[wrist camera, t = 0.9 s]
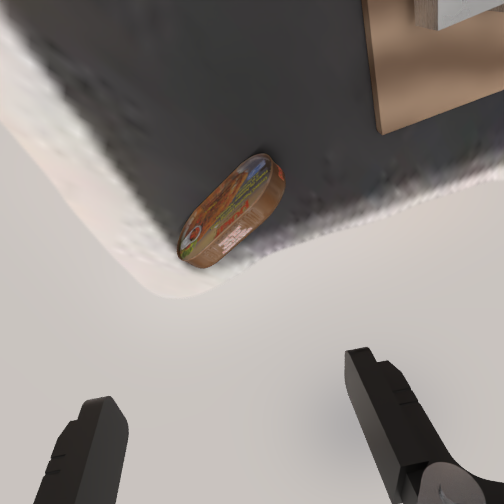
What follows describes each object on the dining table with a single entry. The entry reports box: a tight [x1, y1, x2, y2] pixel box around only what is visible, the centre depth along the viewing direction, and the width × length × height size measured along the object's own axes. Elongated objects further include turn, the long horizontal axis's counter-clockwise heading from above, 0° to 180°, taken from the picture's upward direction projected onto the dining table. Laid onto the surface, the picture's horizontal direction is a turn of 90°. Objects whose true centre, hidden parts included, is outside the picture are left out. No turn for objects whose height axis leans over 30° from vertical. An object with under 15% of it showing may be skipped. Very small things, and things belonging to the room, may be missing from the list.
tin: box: [177, 153, 286, 268], centre depth 36 cm, size 15×3×8 cm, turn 135°
